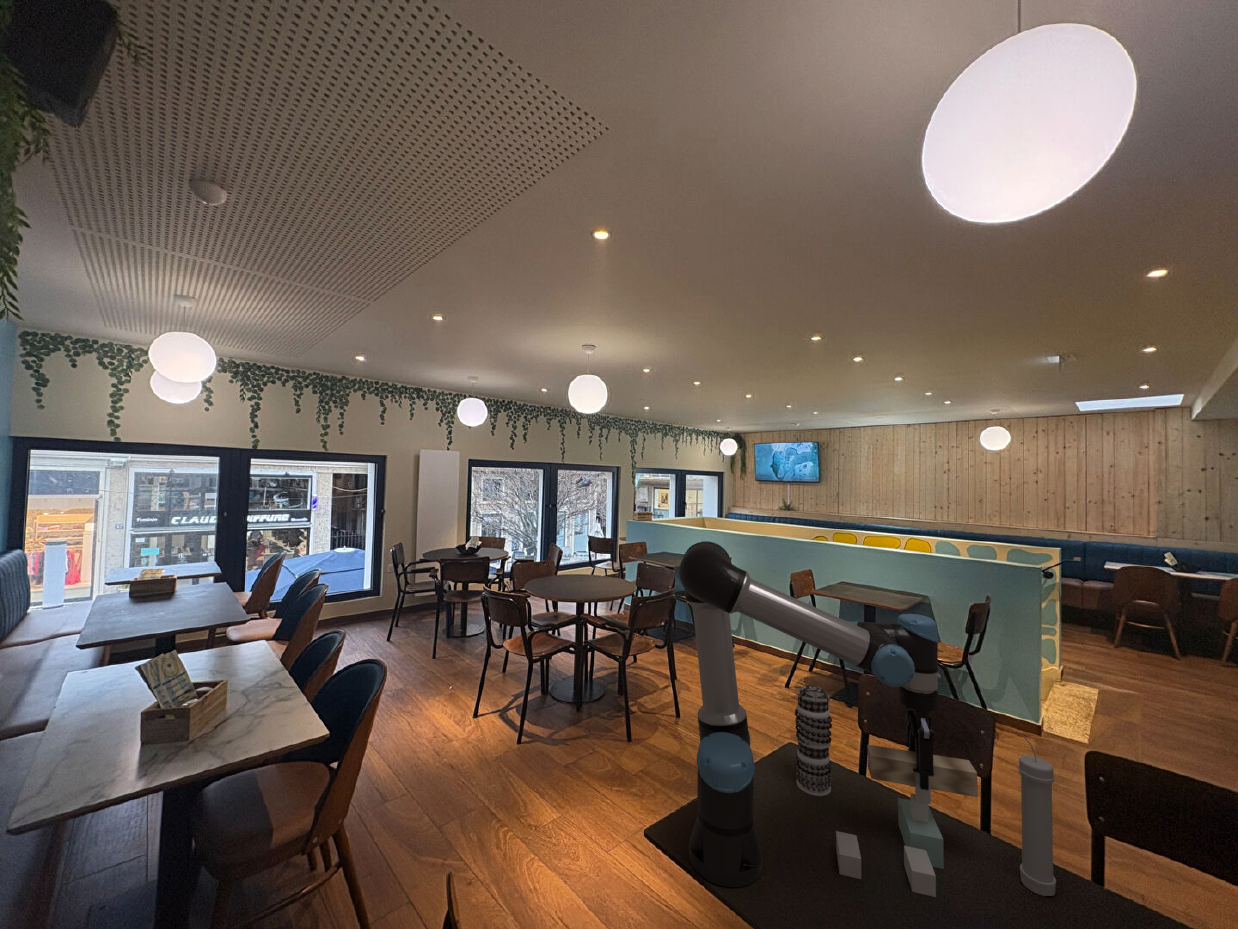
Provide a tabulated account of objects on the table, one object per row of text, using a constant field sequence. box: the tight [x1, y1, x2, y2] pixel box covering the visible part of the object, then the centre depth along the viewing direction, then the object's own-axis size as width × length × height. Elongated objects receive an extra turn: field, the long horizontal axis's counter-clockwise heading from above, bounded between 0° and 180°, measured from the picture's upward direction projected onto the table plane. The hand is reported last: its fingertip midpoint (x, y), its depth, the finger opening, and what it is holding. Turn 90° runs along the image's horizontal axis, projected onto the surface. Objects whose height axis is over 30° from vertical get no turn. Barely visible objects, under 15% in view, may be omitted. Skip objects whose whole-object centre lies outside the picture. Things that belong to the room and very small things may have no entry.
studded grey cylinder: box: [794, 684, 833, 797], centre depth 130 cm, size 9×9×25 cm
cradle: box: [835, 830, 937, 898], centre depth 101 cm, size 17×7×4 cm, turn 71°
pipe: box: [1014, 730, 1057, 897], centre depth 99 cm, size 6×6×30 cm
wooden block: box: [867, 744, 979, 798], centre depth 109 cm, size 20×5×5 cm, turn 71°
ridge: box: [897, 793, 945, 870], centre depth 109 cm, size 6×12×10 cm, turn 161°
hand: (919, 794), depth 109 cm, fingers closed on wooden block, 5 cm apart
